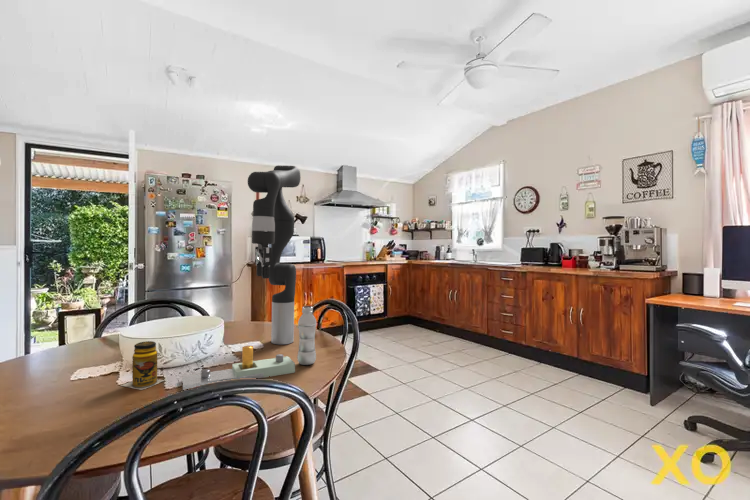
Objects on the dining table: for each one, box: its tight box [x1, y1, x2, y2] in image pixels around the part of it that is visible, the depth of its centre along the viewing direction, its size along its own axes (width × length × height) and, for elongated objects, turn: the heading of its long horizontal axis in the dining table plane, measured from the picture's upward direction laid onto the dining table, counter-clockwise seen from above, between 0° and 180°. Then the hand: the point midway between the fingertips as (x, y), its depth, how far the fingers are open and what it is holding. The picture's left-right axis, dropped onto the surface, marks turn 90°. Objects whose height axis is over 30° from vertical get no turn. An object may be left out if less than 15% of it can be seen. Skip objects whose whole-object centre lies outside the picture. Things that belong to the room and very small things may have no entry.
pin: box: [241, 345, 254, 369], centre depth 111 cm, size 3×3×9 cm
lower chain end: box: [181, 367, 264, 391], centre depth 107 cm, size 8×22×4 cm, turn 120°
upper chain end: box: [231, 353, 296, 378], centre depth 113 cm, size 8×18×5 cm, turn 120°
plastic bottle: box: [296, 305, 317, 366], centre depth 122 cm, size 6×7×20 cm
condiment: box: [120, 340, 165, 391], centre depth 103 cm, size 7×8×12 cm
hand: (262, 277), depth 121 cm, fingers open, 8 cm apart
